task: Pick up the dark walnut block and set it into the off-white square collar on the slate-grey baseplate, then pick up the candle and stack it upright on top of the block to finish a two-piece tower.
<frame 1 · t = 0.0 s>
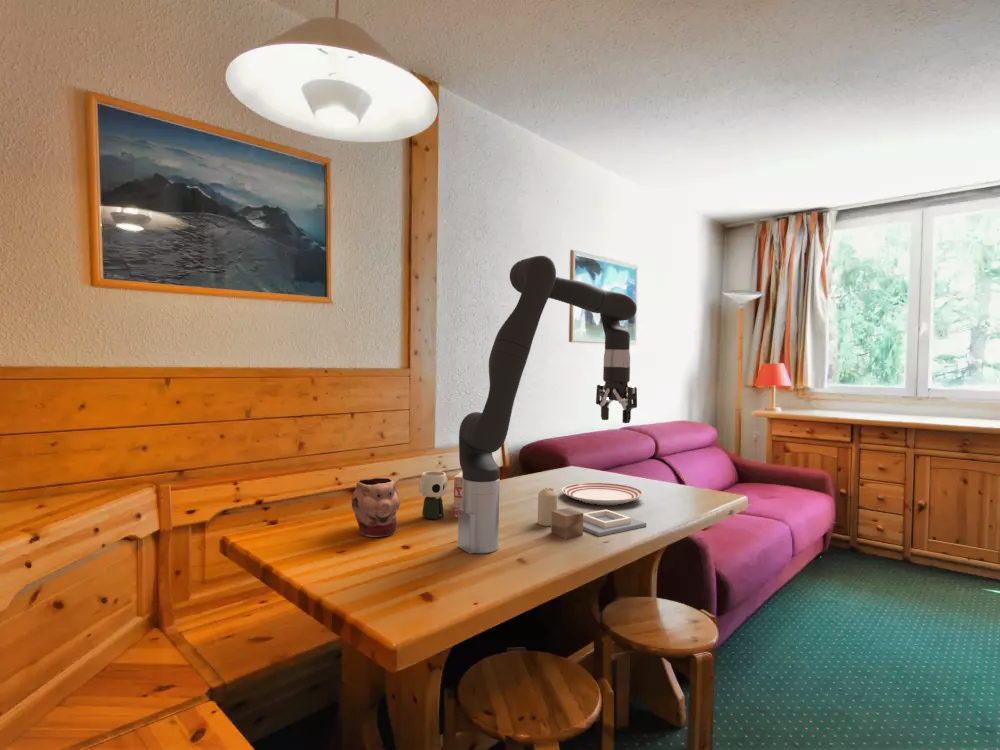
hand: (615, 421, 158), 29 cm above the table, tool pointing down, fingers open, 8 cm apart
stack of blocks: (472, 509, 170), on the table
decorative planter: (374, 531, 146), on the table
candle: (547, 524, 156), on the table
character mug: (432, 518, 159), on the table
baseplate: (605, 524, 155), on the table
walnut block: (566, 534, 147), on the table
dinner plate: (601, 499, 186), on the table
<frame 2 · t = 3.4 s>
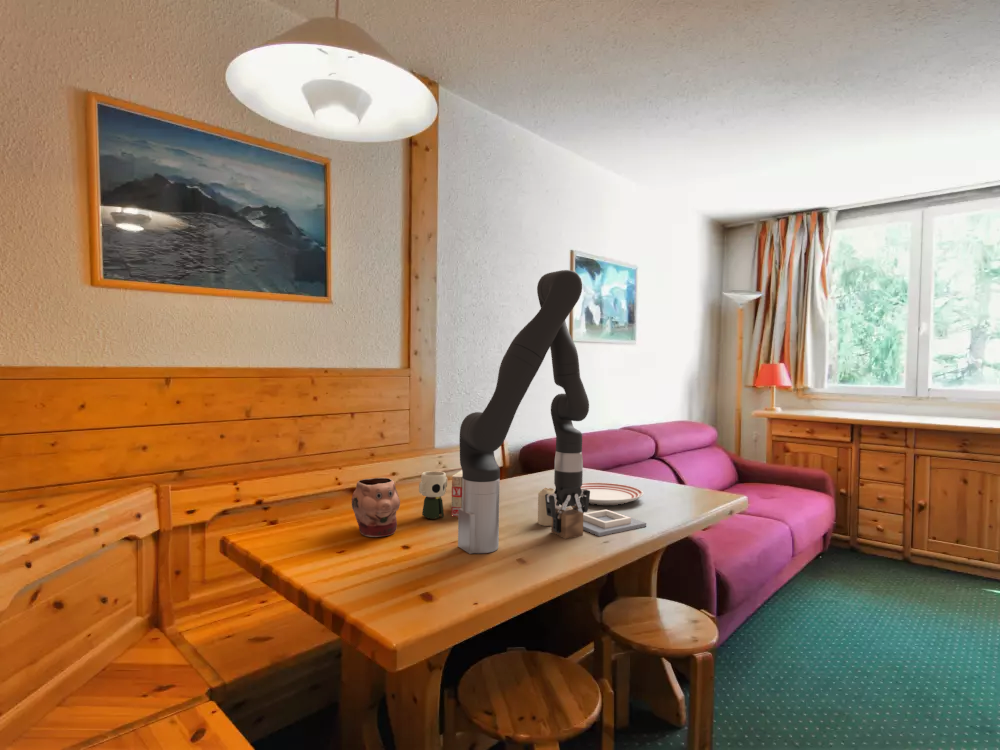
hand: (567, 529, 147), 1 cm above the table, tool pointing down, fingers closed on walnut block, 6 cm apart
walnut block: (567, 533, 147), on the table, touching gripper
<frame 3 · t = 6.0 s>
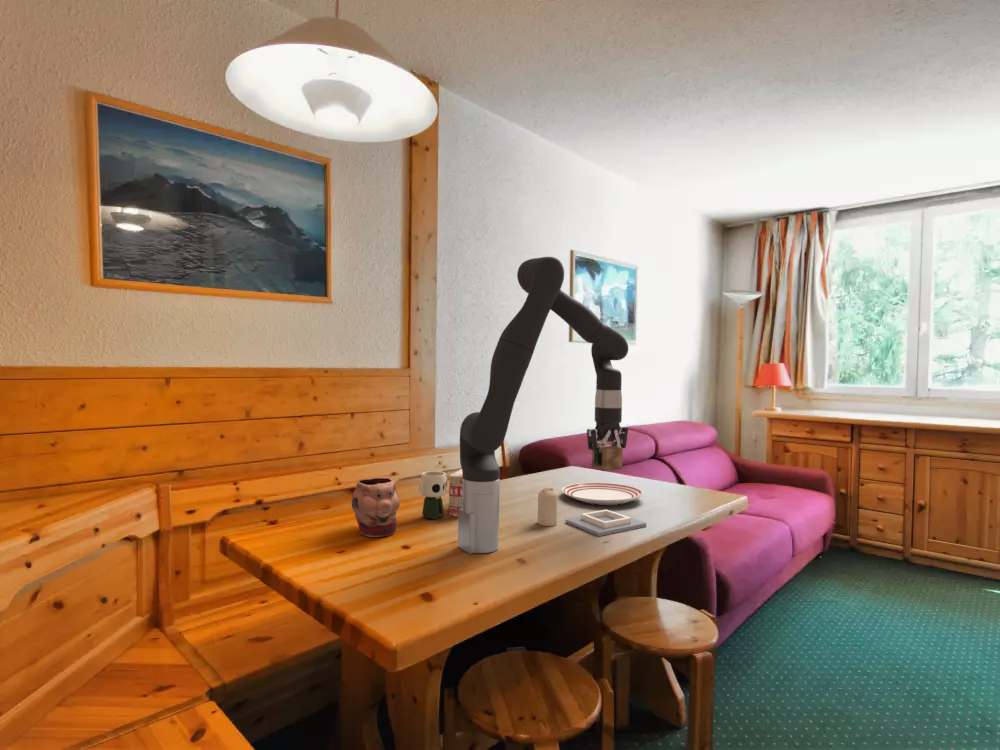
hand: (607, 464, 155), 17 cm above the table, tool pointing down, fingers closed on walnut block, 6 cm apart
walnut block: (606, 467, 155), point 16 cm above the table, touching gripper
when the fingers open (4 cm above the table, at t = 8.5 s): walnut block drops 2 cm, resting on baseplate.
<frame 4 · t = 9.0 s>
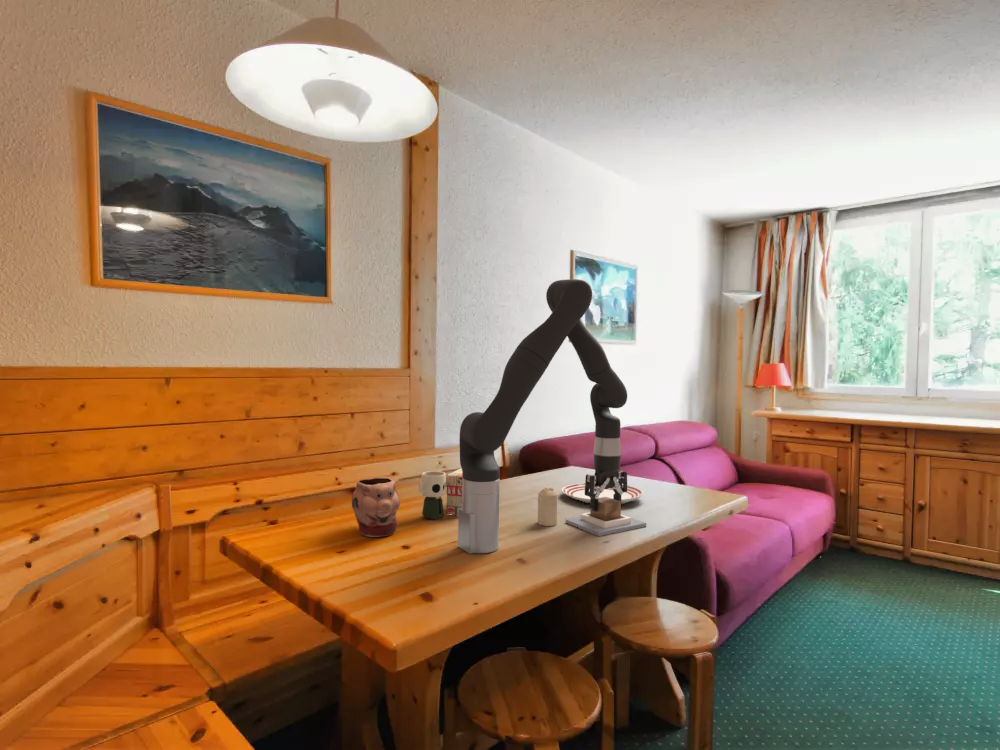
hand: (605, 509, 155), 4 cm above the table, tool pointing down, fingers open, 8 cm apart
walnut block: (605, 521, 155), point 1 cm above the table, touching baseplate
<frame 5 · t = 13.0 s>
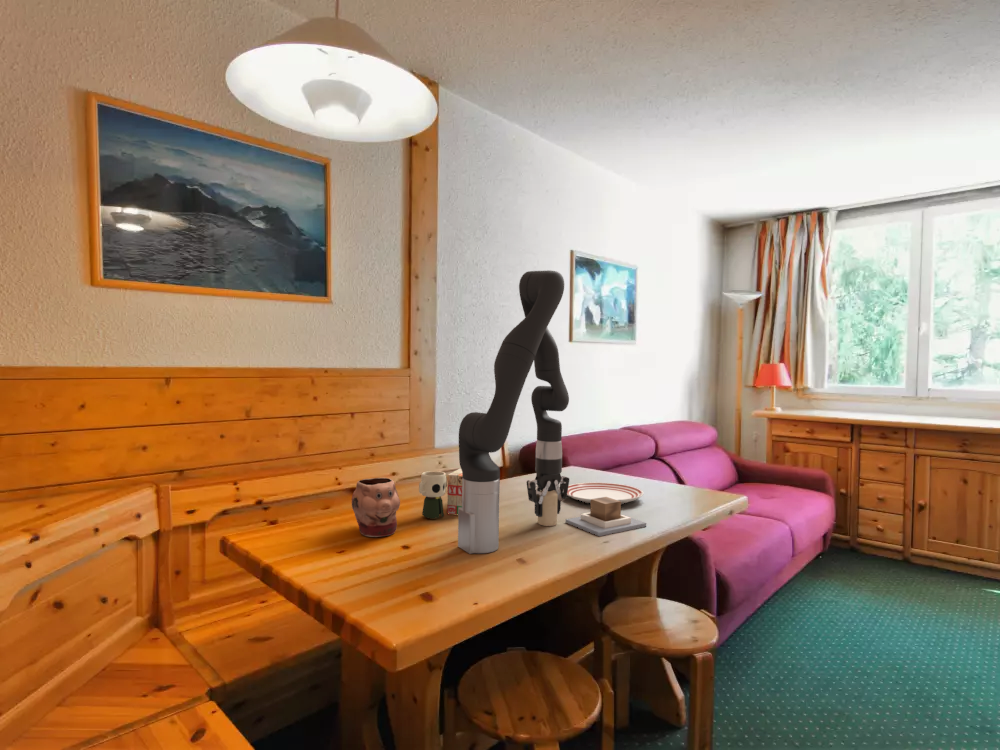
hand: (547, 514, 156), 3 cm above the table, tool pointing down, fingers closed on candle, 5 cm apart
candle: (547, 524, 156), on the table, touching gripper
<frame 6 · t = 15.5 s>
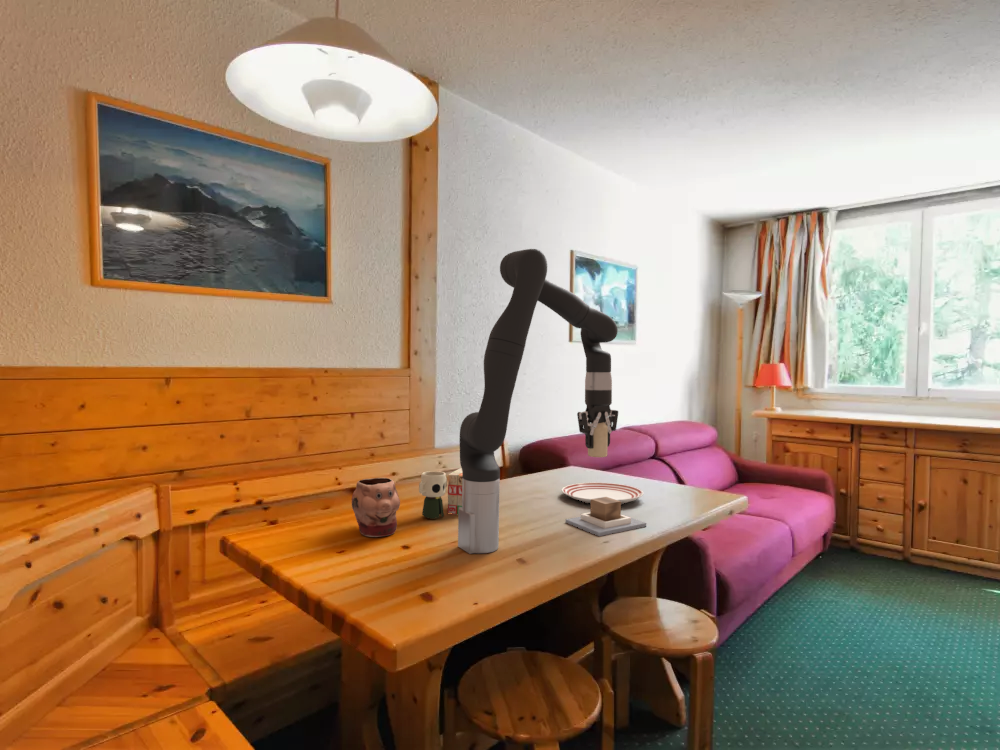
hand: (597, 446, 155), 22 cm above the table, tool pointing down, fingers closed on candle, 5 cm apart
candle: (597, 456, 155), point 19 cm above the table, touching gripper
when the fingers open (11 cm above the table, at t = 18.2 s): candle drops 1 cm, resting on walnut block.
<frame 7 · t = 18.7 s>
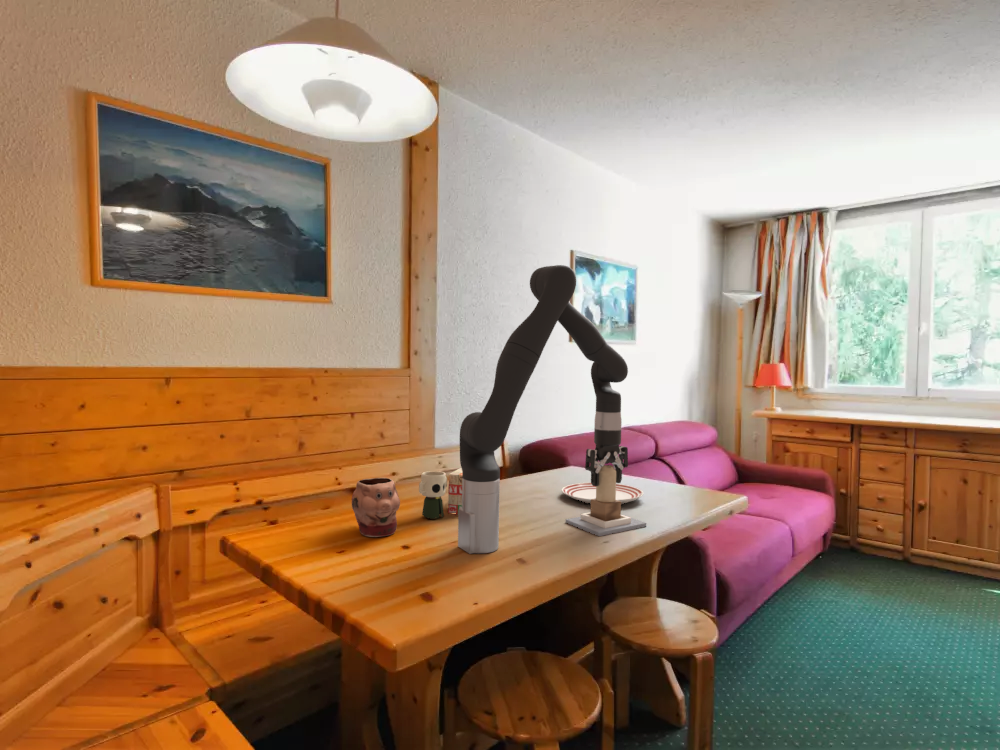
hand: (606, 484, 155), 12 cm above the table, tool pointing down, fingers open, 8 cm apart
candle: (605, 500, 155), point 7 cm above the table, touching walnut block
walnut block: (605, 521, 155), point 1 cm above the table, touching baseplate, candle
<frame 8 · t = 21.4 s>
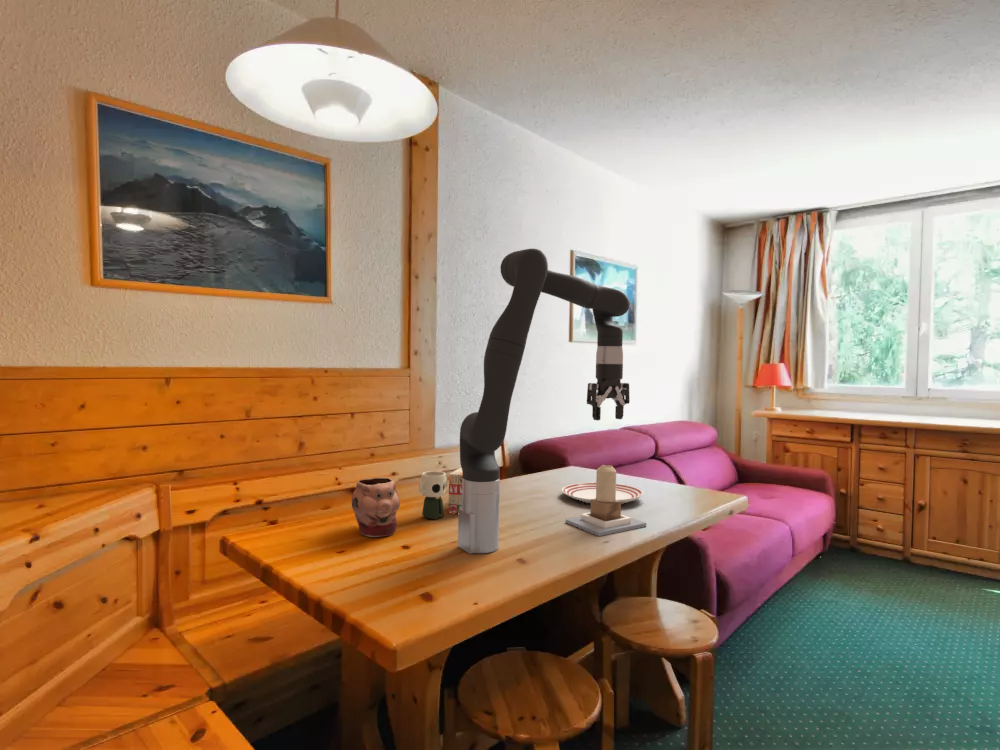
hand: (608, 419, 155), 30 cm above the table, tool pointing down, fingers open, 8 cm apart
at the end: walnut block 0.1 cm off-centre on the baseplate, point 1.0 cm above the baseplate's base; candle 0.0 cm off-centre on the walnut block, point 5.8 cm above the walnut block's base; candle tilted 0° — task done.
